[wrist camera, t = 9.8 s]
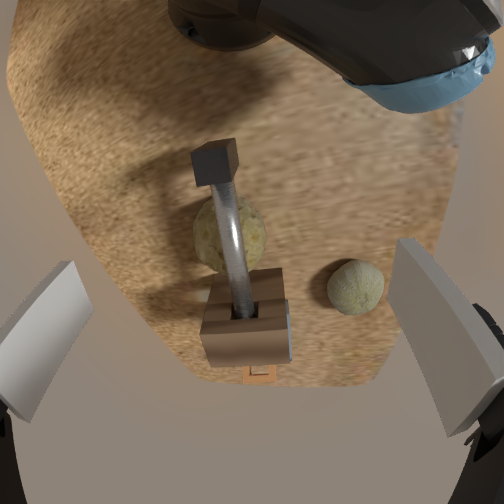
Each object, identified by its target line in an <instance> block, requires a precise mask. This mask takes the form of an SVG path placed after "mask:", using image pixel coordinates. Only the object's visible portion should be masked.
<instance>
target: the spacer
mask: <svg viewBox="0 0 504 504" xmlns="http://www.w3.org/2000/svg"><path fill="white" fill-rule="evenodd" d="M242 367H243V383H259V382H275V381H276V368H275V365H268V368H269V374H253V375H251V366H242Z"/></svg>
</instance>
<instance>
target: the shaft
mask: <svg viewBox="0 0 504 504" xmlns="http://www.w3.org/2000/svg"><path fill="white" fill-rule="evenodd" d="M190 153H191V159H192V164H193V170H194V175H195V180H196V185H197V187H199V186H206V185H210V189H211V194H212V200H213V205H214V210H215V216H216V221H217V226H218V231H219V237H220V242H221V247H222V252H223V257H224V262H225V267H226V272H227V277H228V281H229V286H230V291H231V296H232V301H233V305H234V310H235V315H236V319H237V320H238V319H252V318H256V315H255V309H254V303H253V297H252V291H251V284H250V278H249V272H248V266H247V259H246V253H245V247H244V240H243V234H242V227H241V221H240V215H239V208H238V202H237V195H236V189H235V182H234V175H235V173H236V171H237V168H238V166H239V160H238V153H237V146H236V140H235V138H229V139H222V140H216V141H210V142H207V143H205V144H203V145H202V146H200V147H198V148H197V149H195V150H194V151H192V152H190Z"/></svg>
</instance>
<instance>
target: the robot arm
mask: <svg viewBox="0 0 504 504" xmlns="http://www.w3.org/2000/svg"><path fill="white" fill-rule="evenodd" d="M168 12H169V15H170V18H171V20H172V22H173V24H174V26H175V27H176V28H177V29H178V31H179V32H180V33H182V34H183V35H184V36H185V37H186V38H187V39H189V40H190V41H192V42H193V43H195V44H197V45H199V46H202V47H204V48H208V49H212V50H218V51H238V50H244V49H249V48H252V47H255V46H258V45H260V44H263V43H265V42H266V41H268V40H270V39H271V38H273V37H274V36H275V35H277V36H279V37H281V38H282V39H284V40H286V41H288V42H289V43H291V44H293V45H295V46H296V47H298V48H300V49H301V50H303V51H304V52H306V53H308V54H309V55H311V56H312V57H314V58H315V59H317V60H319V61H320V62H322V63H323V64H325V65H326V66H327V67H329V68H330V69H332V70H333V71H335V72H336V73H337V74H339V75H340V76H342V78H343V80H344V81H345V82H346V83H347V84H349V85H350V86H352V87H354V88H357V89H360V90H361V91H363V92H364V93H365V94H367V95H368V96H369V97H371V98H372V99H373V100H375V101H376V102H377V103H379V104H380V105H381V106H383V107H385V108H387V109H389V110H392V111H397V112H401V113H406V114H413V113H423V112H428V111H432V110H436V109H439V108H442V107H444V106H447V105H449V104H451V103H453V102H456V101H457V100H459V99H461V98H463V97H464V96H466V95H467V94H469V93H470V92H471V91H473V90H474V89H475V88H477V87H478V86H479V85H480V84H481V83H482V82H483V77H482V75H485V74H488V73H490V72H491V70H492V68H493V66H494V63H495V49H494V47H493V42H492V40H491V38H490V37H489V35H490V34H491V33H493V32H494V31H496V30H497V29H499V28H500V27H501V26H503V25H504V15H503V4H502V0H168ZM387 300H388V302H389V304H390V305H391V307H392V309H393V311H394V313H395V315H396V317H397V319H398V321H399V323H400V325H401V327H402V329H403V331H404V333H405V335H406V338H407V339H408V342H409V344H410V346H411V348H412V350H413V352H414V355H415V357H416V359H417V361H418V364H419V366H420V368H421V370H422V373H423V375H424V377H425V380H426V382H427V384H428V387H429V389H430V392H431V394H432V397H433V399H434V402H435V404H436V407H437V410H438V412H439V415H440V418H441V420H442V423H443V426H444V429H445V432H446V435H447V437H451V436H453V435H456V434H458V433H461V432H463V431H465V430H467V429H469V428H470V427H471V426H472V424H473V423H474V422H475V421H476V420H477V419H478V421H479V424H480V427H479V428H478V429H477V430H476V431H475V432H474V433H473V434H472V435H471V436H470V437H469V438H468V439H467V440H466V442H465V443H464V445H468V444H469V443H470V442H471V441H472V440H473V439H474V440H473V443H472V445H471V446H470V447H471V449H470V452H469V455H468V458H467V460H466V463H465V466H464V468H463V471H462V473H461V476H460V478H459V480H458V483H457V485H456V487H455V489H454V492H453V494H452V496H451V498H450V500H449V502H448V504H504V335H503V332H502V330H501V329H500V328H499V326H497V325H496V322H495V321H494V319H493V318H492V317H491V315H490V314H489V313H488V312H487V311H486V310H485V309H483V308H482V307H481V306H479V305H478V304H471V303H470V302H469V300H468V299H467V298H466V296H465V295H464V294H463V293H462V291H461V290H460V289H459V288H458V286H457V285H456V284H455V283H454V282H453V280H452V279H451V278H450V277H449V276H448V274H447V273H446V272H445V271H444V270H443V269H442V267H441V266H440V265H439V264H438V263H437V262H436V261H435V259H434V258H433V257H432V256H431V255H430V254H429V253H428V252H427V251H426V249H425V248H424V247H423V246H422V245H421V244H420V243H419V242H418V241H417V240H416V239H415V238H400V239H397V245H396V251H395V258H394V264H393V269H392V275H391V280H390V285H389V290H388V295H387ZM93 312H94V309H93V307H92V304H91V302H90V300H89V298H88V295H87V293H86V291H85V289H84V287H83V284H82V282H81V279H80V277H79V275H78V272H77V269H76V267H75V264H74V262H73V260H69V261H61V262H60V263H59V264H58V265H57V266H56V267H55V268H54V269H53V270H52V271H51V272H50V273H49V274H48V275H47V276H46V277H45V278H44V279H43V280H42V281H41V282H40V283H39V284H38V285H37V287H36V288H35V289H34V290H33V291H32V292H31V293H30V294H29V295H28V296H27V298H26V299H25V300H24V301H23V302H22V303H21V304H20V305H19V307H18V308H17V309H16V310H15V311H14V312H13V314H12V315H11V316H10V317H9V318H8V320H7V321H6V322H5V323H4V325H3V326H2V327H1V328H0V504H27V501H26V498H25V494H24V491H23V487H22V483H21V479H20V475H19V469H18V464H17V459H16V453H15V447H14V440H13V432H12V423H11V417H10V415H9V414H8V413H7V412H6V411H7V409H8V408H9V409H10V410H11V411H12V412H13V413H14V414H15V415H16V416H17V417H18V418H20V419H22V420H24V421H26V422H28V423H30V422H31V419H32V417H33V415H34V413H35V411H36V409H37V407H38V405H39V403H40V401H41V400H42V397H43V396H44V394H45V392H46V390H47V388H48V386H49V384H50V383H51V381H52V379H53V377H54V375H55V374H56V372H57V370H58V368H59V367H60V365H61V363H62V361H63V360H64V358H65V356H66V355H67V353H68V351H69V350H70V348H71V346H72V344H73V343H74V342H75V340H76V338H77V337H78V335H79V333H80V332H81V330H82V329H83V327H84V325H85V324H86V323H87V321H88V319H89V318H90V316H91V315H92V313H93Z"/></svg>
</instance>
